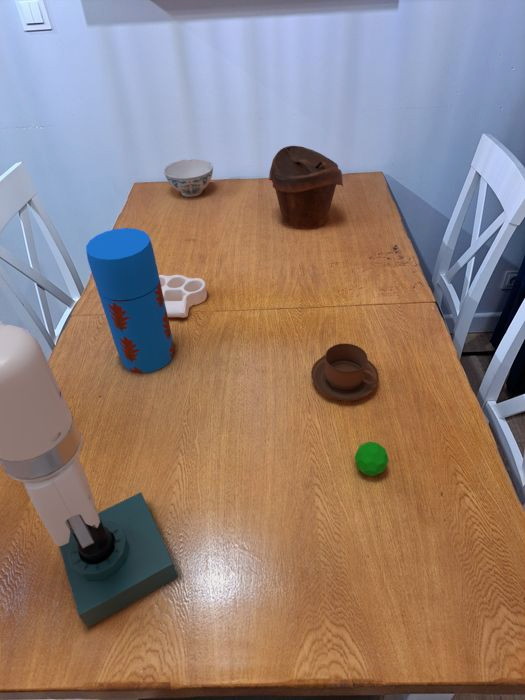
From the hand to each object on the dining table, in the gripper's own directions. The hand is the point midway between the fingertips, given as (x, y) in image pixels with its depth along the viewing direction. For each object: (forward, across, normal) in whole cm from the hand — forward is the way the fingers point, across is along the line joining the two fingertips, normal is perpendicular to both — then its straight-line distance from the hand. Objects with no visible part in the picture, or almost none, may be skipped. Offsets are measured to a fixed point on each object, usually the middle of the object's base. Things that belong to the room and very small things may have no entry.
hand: (91, 535), depth 60 cm
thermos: (+9, -38, +19) cm, 44 cm away
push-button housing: (+9, 0, +1) cm, 9 cm away
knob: (+3, 0, 0) cm, 3 cm away
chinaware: (+9, -104, +58) cm, 120 cm away
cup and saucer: (+9, -11, +47) cm, 50 cm away
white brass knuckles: (+9, -53, +29) cm, 61 cm away
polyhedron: (+9, +6, +39) cm, 41 cm away
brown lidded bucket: (+9, -68, +77) cm, 104 cm away
